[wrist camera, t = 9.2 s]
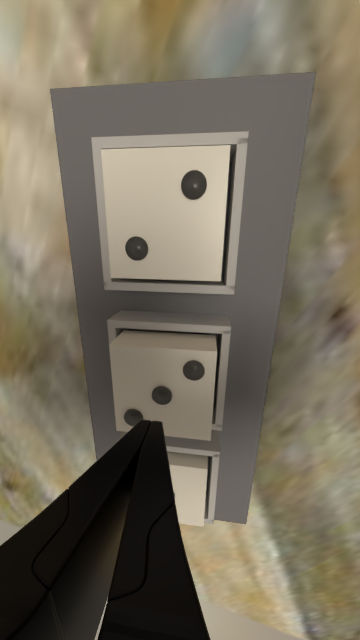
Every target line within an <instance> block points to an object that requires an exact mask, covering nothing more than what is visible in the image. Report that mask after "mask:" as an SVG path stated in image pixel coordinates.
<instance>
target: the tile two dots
mask: <svg viewBox="0 0 360 640" xmlns="http://www.w3.org/2000/svg"><path fill="white" fill-rule="evenodd" d="M101 156H102V169H103V182H104V196H105V209H106V222H107V235H108V248H109V261H110V274H111V278H129V279H161V280H192V281H221V273H222V259H223V245H224V231H225V216H226V202H227V188H228V174H229V160H230V145H218V146H187V147H156V148H125V149H101Z"/></svg>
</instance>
